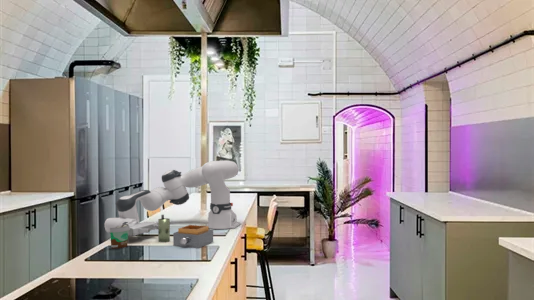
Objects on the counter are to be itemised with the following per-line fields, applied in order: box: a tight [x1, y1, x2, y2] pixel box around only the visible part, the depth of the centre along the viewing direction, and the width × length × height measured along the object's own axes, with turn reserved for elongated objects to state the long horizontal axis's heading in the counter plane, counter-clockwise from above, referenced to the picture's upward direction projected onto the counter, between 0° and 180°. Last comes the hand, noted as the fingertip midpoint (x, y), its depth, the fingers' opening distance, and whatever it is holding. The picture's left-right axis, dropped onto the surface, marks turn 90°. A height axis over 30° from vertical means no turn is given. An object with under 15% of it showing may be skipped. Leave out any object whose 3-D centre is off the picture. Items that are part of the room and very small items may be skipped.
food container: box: [109, 224, 130, 250], centre depth 213 cm, size 12×6×10 cm, turn 168°
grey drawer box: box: [172, 224, 214, 249], centre depth 218 cm, size 17×14×8 cm
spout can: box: [157, 214, 171, 243], centre depth 226 cm, size 6×6×13 cm
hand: (154, 229), depth 227 cm, fingers open, 8 cm apart
